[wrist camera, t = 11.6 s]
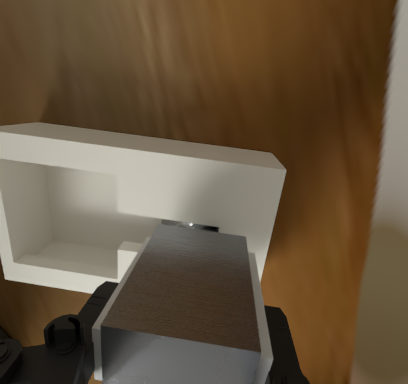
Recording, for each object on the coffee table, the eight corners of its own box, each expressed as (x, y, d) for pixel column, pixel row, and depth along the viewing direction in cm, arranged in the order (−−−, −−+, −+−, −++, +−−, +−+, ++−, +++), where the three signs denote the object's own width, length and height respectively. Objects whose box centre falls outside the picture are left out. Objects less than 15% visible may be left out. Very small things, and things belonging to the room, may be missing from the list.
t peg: (164, 245, 23) (79, 435, 10) (169, 172, 21) (67, 294, 7) (240, 257, 23) (257, 469, 10) (254, 184, 20) (303, 333, 7)
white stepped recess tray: (51, 242, 26) (5, 279, 20) (38, 122, 22) (-25, 128, 16) (246, 272, 25) (251, 319, 19) (271, 152, 21) (286, 170, 15)
